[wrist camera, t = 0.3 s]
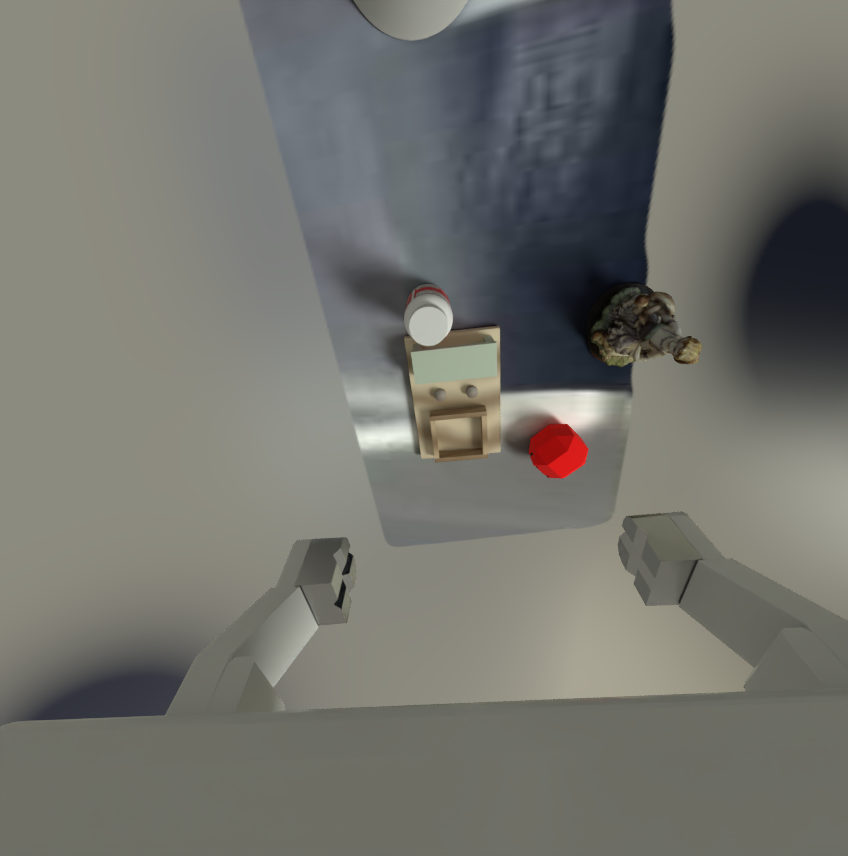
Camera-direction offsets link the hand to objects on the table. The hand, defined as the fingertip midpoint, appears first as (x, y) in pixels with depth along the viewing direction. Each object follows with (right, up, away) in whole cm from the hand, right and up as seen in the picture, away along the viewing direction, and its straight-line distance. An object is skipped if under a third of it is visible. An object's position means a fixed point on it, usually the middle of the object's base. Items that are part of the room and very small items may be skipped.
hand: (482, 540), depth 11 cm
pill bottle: (-1, +21, +41) cm, 46 cm away
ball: (+21, +2, +53) cm, 57 cm away
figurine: (+27, +19, +42) cm, 54 cm away
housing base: (+3, +8, +48) cm, 49 cm away
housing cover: (+3, +14, +43) cm, 46 cm away
